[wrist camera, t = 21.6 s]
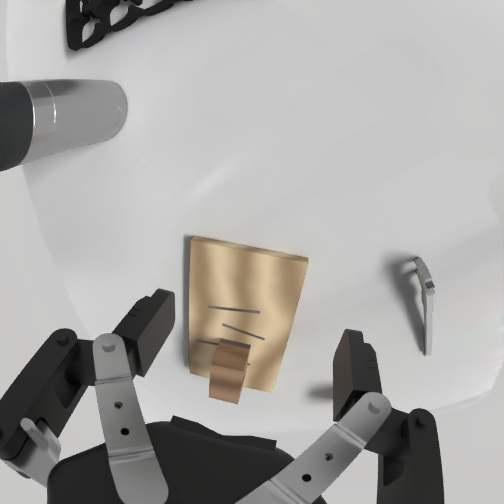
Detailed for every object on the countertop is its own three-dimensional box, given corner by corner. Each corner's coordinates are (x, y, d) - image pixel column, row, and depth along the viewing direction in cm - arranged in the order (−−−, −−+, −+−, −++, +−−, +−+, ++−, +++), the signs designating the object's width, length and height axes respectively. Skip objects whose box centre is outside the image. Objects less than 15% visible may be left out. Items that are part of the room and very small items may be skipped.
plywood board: (192, 367, 54) (189, 373, 53) (194, 235, 42) (190, 240, 40) (273, 386, 53) (272, 392, 52) (308, 258, 40) (308, 263, 39)
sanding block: (244, 378, 51) (237, 404, 46) (217, 372, 51) (208, 397, 46) (251, 344, 47) (243, 371, 42) (220, 338, 47) (210, 363, 42)
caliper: (412, 257, 37) (426, 280, 32) (419, 255, 37) (434, 278, 32) (424, 354, 44) (432, 380, 39) (430, 352, 44) (438, 378, 38)
